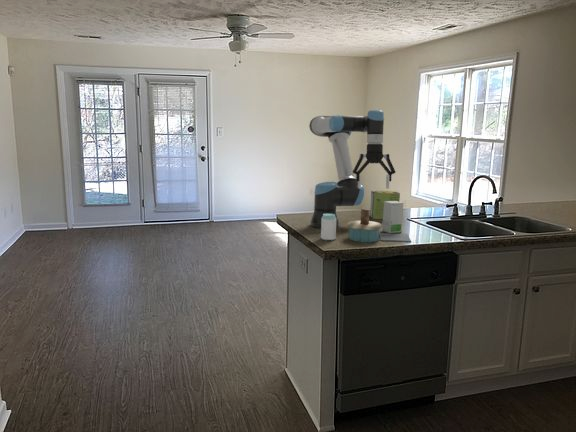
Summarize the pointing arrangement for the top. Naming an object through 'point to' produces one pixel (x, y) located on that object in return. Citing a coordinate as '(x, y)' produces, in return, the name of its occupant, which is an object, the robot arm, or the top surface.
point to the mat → (394, 237)
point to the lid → (364, 222)
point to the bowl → (364, 235)
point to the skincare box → (392, 216)
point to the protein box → (381, 202)
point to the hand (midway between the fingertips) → (373, 188)
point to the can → (328, 227)
